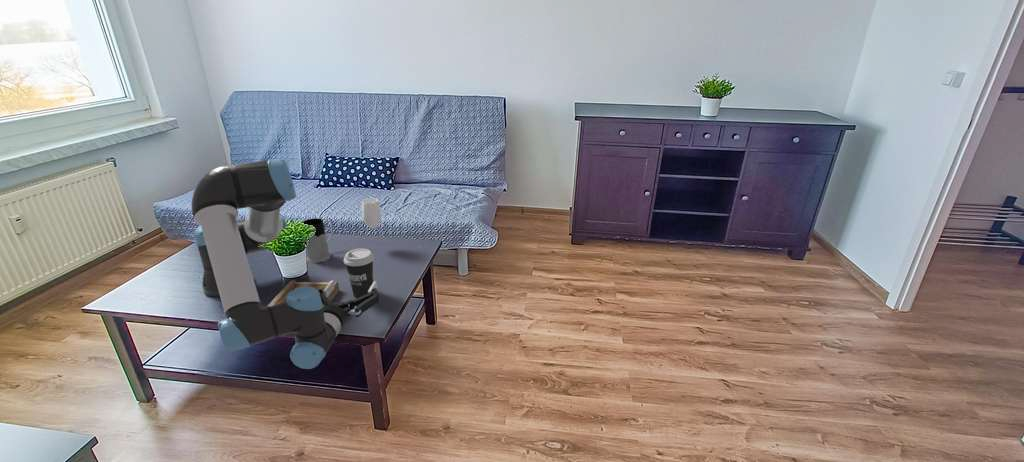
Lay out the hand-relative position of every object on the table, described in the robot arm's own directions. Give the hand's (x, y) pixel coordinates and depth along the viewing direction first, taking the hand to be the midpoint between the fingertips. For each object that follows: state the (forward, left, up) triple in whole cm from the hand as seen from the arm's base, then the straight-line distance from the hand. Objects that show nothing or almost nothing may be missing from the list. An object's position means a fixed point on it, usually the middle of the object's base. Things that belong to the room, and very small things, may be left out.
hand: (354, 284), depth 146 cm
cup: (-6, +42, -8) cm, 44 cm away
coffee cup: (0, +7, -8) cm, 11 cm away
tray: (-17, +1, -8) cm, 19 cm away
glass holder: (-25, +36, -8) cm, 45 cm away
